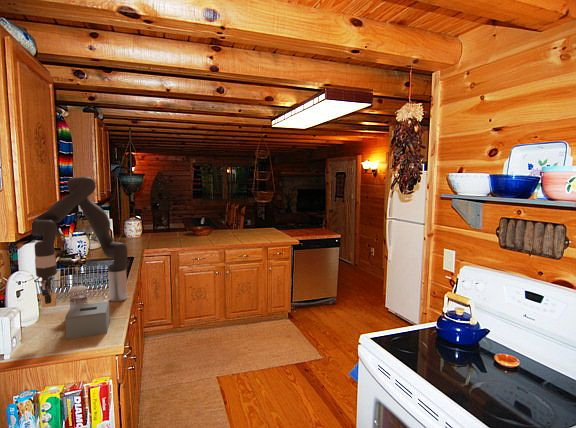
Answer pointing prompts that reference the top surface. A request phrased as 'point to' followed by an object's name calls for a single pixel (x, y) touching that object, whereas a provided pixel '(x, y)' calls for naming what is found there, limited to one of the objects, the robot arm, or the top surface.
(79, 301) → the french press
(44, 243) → the robot arm
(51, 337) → the top surface
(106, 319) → the box
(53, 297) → the wooden block
